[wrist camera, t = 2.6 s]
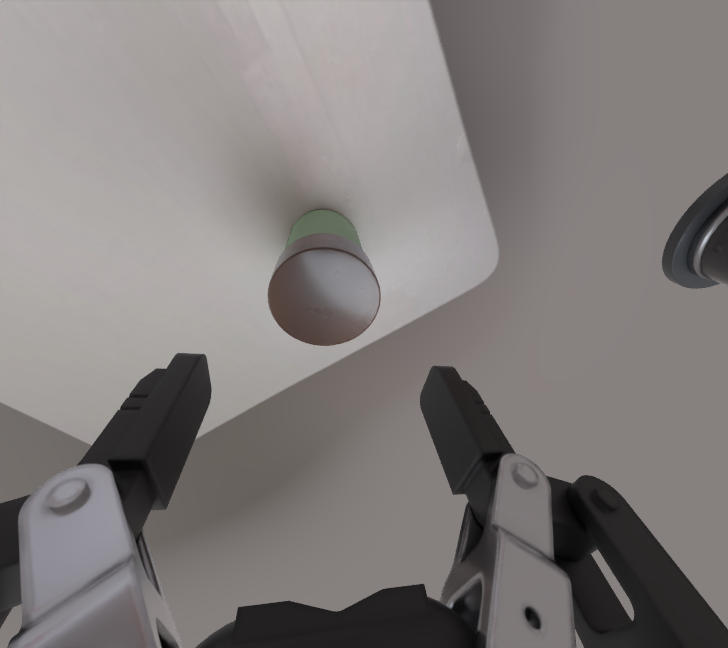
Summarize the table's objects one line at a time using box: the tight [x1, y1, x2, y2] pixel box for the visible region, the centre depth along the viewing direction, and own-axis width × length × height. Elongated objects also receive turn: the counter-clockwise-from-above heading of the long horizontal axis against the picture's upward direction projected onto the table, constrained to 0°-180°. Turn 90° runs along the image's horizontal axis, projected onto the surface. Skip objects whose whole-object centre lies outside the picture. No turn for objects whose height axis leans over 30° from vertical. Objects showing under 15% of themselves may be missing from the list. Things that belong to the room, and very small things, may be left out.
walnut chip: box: [268, 233, 380, 346], centre depth 16 cm, size 6×6×2 cm
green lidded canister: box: [285, 209, 362, 249], centre depth 20 cm, size 6×6×7 cm
